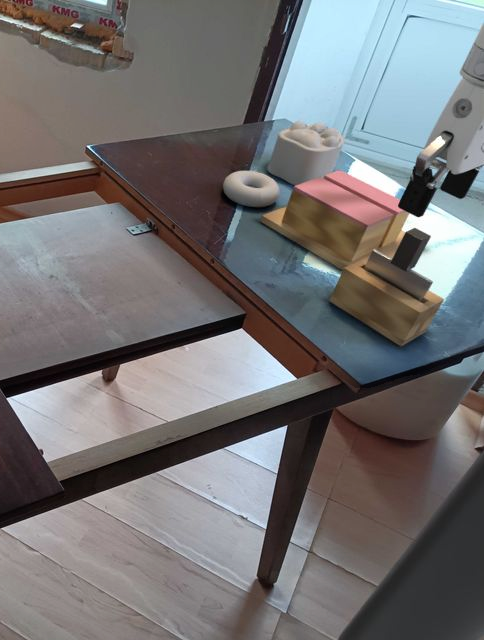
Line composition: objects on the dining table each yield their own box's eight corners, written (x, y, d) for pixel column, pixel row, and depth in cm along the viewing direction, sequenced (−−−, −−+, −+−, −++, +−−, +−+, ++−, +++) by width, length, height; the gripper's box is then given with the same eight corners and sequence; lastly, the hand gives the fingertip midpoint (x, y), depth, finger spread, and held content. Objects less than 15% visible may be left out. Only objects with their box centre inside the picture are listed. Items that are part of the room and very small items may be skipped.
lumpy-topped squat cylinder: (260, 168, 134) (273, 125, 129) (300, 153, 141) (314, 112, 135) (304, 190, 128) (320, 146, 123) (344, 174, 135) (361, 131, 129)
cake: (423, 249, 115) (444, 208, 110) (359, 280, 107) (379, 237, 102) (324, 197, 127) (339, 157, 122) (259, 221, 119) (273, 180, 114)
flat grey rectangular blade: (411, 325, 97) (455, 247, 88) (402, 330, 96) (445, 252, 87) (356, 292, 102) (393, 216, 94) (347, 297, 101) (383, 220, 93)
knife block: (424, 332, 98) (444, 299, 94) (400, 346, 95) (420, 312, 91) (353, 289, 105) (368, 256, 101) (328, 301, 102) (343, 267, 98)
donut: (253, 181, 130) (210, 187, 127) (259, 164, 128) (215, 170, 125) (287, 207, 123) (242, 214, 120) (293, 189, 121) (247, 196, 118)
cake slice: (395, 241, 114) (413, 205, 110) (381, 247, 112) (398, 212, 108) (326, 203, 122) (339, 169, 118) (311, 209, 120) (324, 175, 116)
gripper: (495, 91, 70) (419, 234, 82) (572, 67, 78) (493, 200, 90) (428, 67, 75) (365, 205, 86) (507, 46, 83) (440, 175, 94)
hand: (430, 202), depth 88 cm, fingers open, 9 cm apart
